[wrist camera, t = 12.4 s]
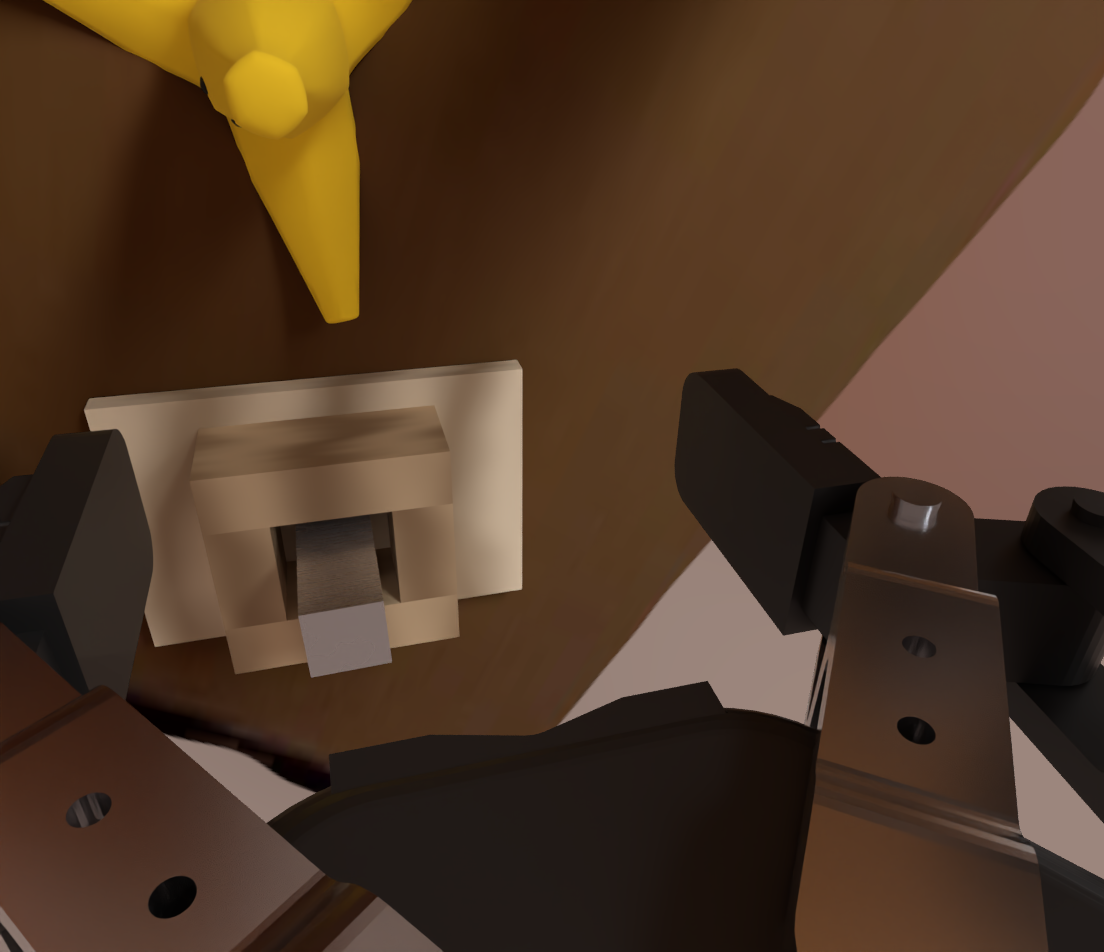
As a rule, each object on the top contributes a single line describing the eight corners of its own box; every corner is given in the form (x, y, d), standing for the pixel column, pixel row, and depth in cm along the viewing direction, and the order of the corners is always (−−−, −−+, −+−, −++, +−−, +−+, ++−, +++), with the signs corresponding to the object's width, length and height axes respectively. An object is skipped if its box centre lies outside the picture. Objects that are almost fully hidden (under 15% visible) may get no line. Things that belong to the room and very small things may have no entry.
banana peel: (334, 308, 39) (362, 495, 26) (-63, -86, 29) (-379, -132, 15) (610, 69, 37) (804, 130, 23) (291, -452, 27) (301, -896, 13)
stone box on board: (516, 359, 43) (547, 411, 38) (517, 576, 50) (542, 643, 45) (89, 398, 38) (60, 462, 33) (157, 632, 45) (142, 713, 40)
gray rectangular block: (363, 478, 43) (383, 601, 34) (371, 533, 44) (392, 662, 36) (294, 488, 42) (298, 615, 34) (305, 543, 44) (311, 677, 35)
